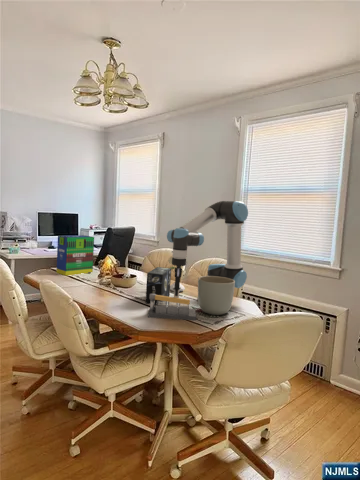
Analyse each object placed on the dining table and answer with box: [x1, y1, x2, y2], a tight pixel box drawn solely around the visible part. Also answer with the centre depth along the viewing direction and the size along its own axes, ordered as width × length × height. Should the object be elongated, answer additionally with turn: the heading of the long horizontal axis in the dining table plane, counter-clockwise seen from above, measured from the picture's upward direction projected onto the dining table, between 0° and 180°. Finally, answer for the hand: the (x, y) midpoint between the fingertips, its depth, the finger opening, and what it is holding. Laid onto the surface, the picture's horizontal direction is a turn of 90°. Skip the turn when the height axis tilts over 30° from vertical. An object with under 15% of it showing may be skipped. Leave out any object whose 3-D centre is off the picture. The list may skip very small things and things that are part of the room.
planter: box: [197, 275, 235, 316], centre depth 195 cm, size 21×21×19 cm
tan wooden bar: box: [149, 294, 191, 306], centre depth 181 cm, size 22×4×2 cm, turn 72°
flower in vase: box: [167, 255, 186, 292], centre depth 241 cm, size 13×11×25 cm
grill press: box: [147, 300, 197, 321], centre depth 185 cm, size 25×14×7 cm, turn 91°
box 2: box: [145, 266, 172, 306], centre depth 213 cm, size 23×10×19 cm, turn 168°
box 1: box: [56, 234, 95, 276], centre depth 280 cm, size 25×14×30 cm, turn 140°
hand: (175, 301), depth 182 cm, fingers closed
